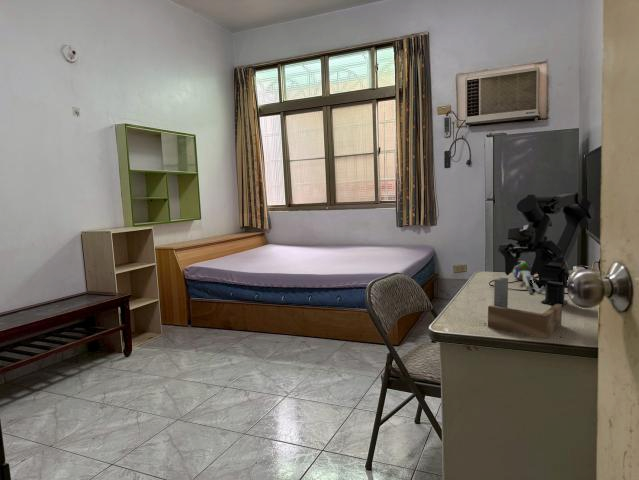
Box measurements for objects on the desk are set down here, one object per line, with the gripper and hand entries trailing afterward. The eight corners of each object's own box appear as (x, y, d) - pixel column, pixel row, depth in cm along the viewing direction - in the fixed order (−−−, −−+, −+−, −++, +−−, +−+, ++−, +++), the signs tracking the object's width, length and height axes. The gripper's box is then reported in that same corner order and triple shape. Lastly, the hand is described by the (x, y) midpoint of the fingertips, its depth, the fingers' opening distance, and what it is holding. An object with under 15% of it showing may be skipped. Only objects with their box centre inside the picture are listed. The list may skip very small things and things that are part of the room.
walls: (506, 315, 134) (506, 296, 133) (561, 325, 123) (562, 304, 122) (487, 326, 123) (488, 306, 123) (545, 338, 113) (546, 316, 112)
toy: (520, 281, 159) (508, 256, 187) (519, 303, 161) (507, 275, 189) (551, 282, 156) (534, 257, 184) (549, 304, 159) (533, 276, 187)
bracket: (501, 319, 128) (502, 277, 127) (527, 325, 122) (528, 281, 121) (493, 321, 126) (494, 279, 124) (519, 328, 120) (521, 283, 118)
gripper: (495, 220, 141) (477, 261, 136) (546, 212, 124) (527, 259, 119) (517, 238, 144) (501, 279, 140) (570, 233, 127) (553, 280, 123)
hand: (518, 274), depth 130 cm, fingers open, 9 cm apart
